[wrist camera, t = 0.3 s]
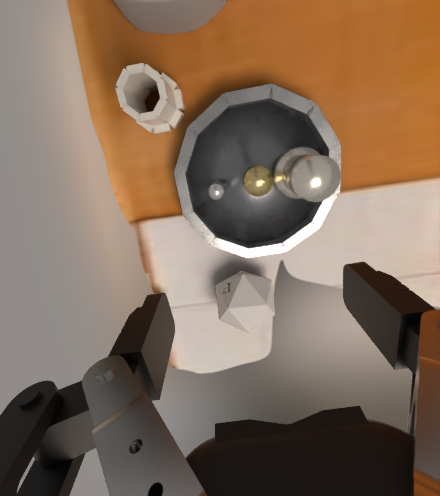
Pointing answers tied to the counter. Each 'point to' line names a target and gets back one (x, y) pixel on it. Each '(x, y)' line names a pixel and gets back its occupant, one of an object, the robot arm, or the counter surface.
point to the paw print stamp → (169, 14)
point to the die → (245, 301)
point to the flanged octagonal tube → (137, 90)
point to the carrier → (258, 171)
